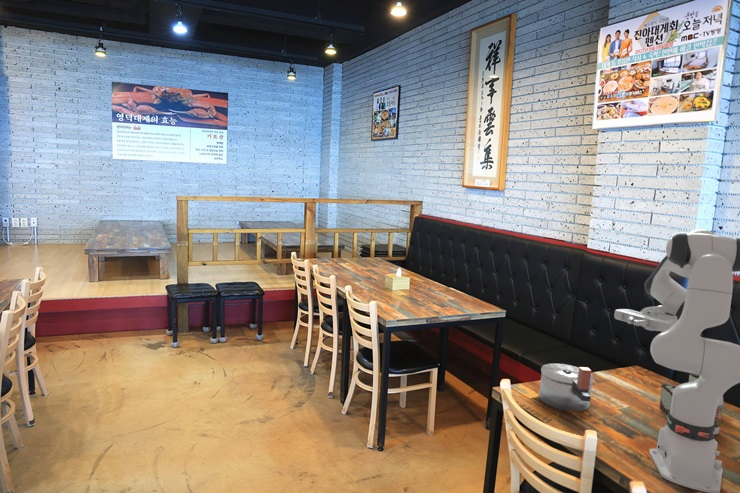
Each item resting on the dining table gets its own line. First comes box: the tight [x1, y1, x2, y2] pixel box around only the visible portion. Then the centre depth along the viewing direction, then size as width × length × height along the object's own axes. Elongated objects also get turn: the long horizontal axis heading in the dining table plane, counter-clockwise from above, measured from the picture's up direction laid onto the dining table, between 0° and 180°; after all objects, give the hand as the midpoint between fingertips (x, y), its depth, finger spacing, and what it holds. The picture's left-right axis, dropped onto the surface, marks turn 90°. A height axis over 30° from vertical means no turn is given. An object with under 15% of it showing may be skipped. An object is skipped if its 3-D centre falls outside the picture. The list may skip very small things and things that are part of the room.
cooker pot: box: [538, 373, 593, 412], centre depth 184 cm, size 27×18×10 cm
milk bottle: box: [714, 395, 724, 436], centre depth 169 cm, size 8×8×20 cm
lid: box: [540, 363, 595, 393], centre depth 182 cm, size 25×19×8 cm
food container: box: [659, 382, 678, 418], centre depth 180 cm, size 12×6×10 cm, turn 168°
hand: (632, 322), depth 177 cm, fingers closed
